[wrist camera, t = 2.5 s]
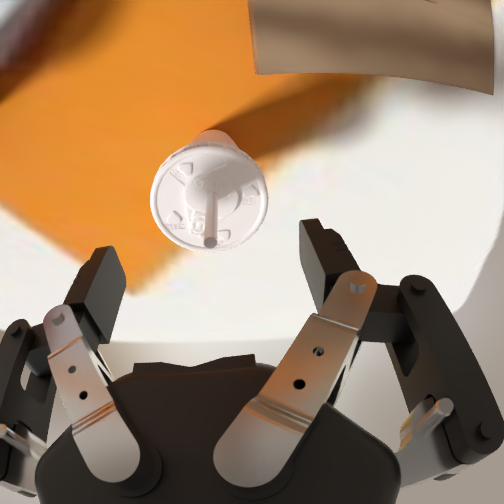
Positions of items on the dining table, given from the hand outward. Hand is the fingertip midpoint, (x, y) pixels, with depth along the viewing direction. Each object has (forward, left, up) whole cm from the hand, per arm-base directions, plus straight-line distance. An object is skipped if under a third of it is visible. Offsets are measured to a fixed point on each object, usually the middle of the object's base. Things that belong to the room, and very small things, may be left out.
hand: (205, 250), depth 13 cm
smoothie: (0, 0, -14) cm, 14 cm away
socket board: (-17, +15, -14) cm, 27 cm away
